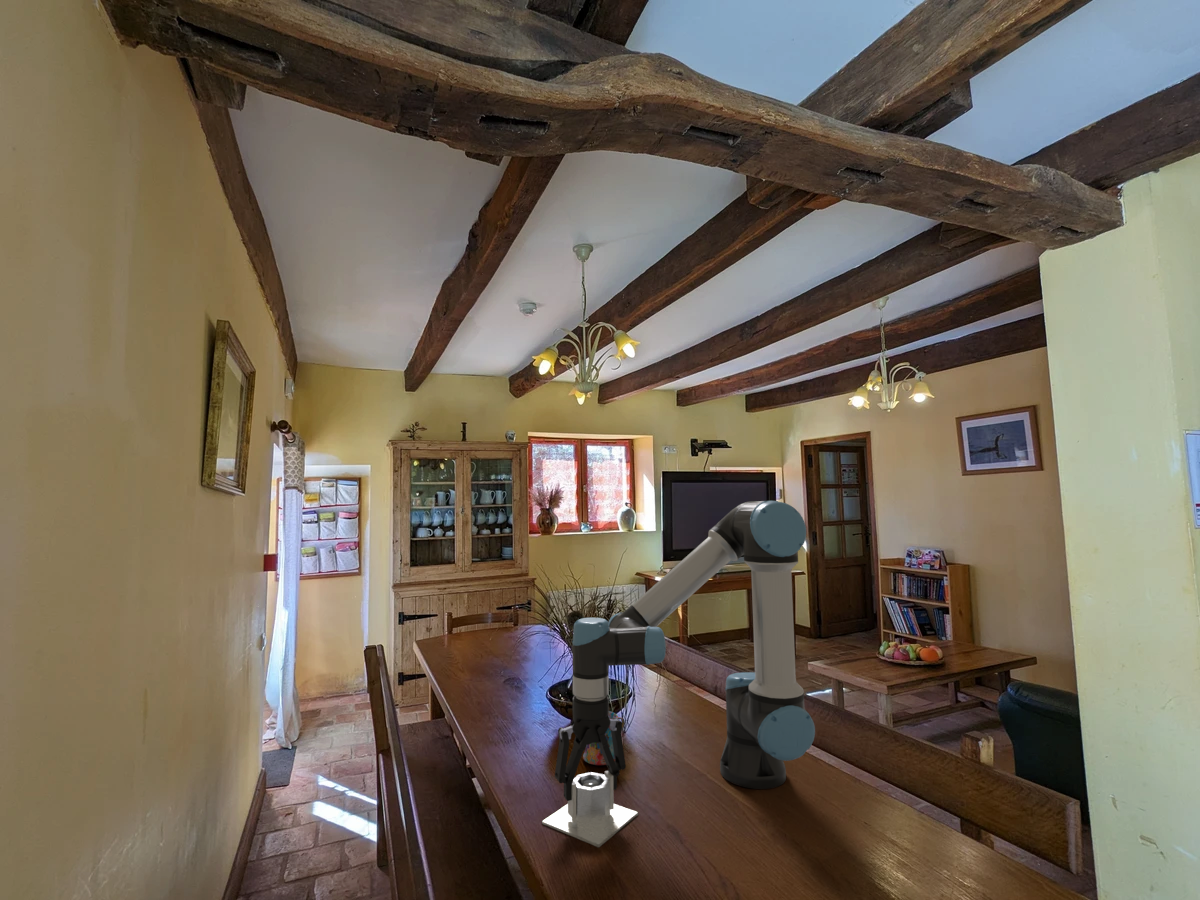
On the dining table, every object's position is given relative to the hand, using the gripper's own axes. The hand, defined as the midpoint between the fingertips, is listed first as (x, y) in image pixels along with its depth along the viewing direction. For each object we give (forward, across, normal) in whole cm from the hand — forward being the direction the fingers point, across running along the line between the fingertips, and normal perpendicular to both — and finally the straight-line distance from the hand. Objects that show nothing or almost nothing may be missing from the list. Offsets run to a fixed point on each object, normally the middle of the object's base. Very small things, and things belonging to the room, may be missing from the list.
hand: (590, 810), depth 119 cm
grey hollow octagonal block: (+1, 0, 0) cm, 1 cm away
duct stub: (+2, 0, 0) cm, 2 cm away
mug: (+2, -14, -24) cm, 28 cm away
